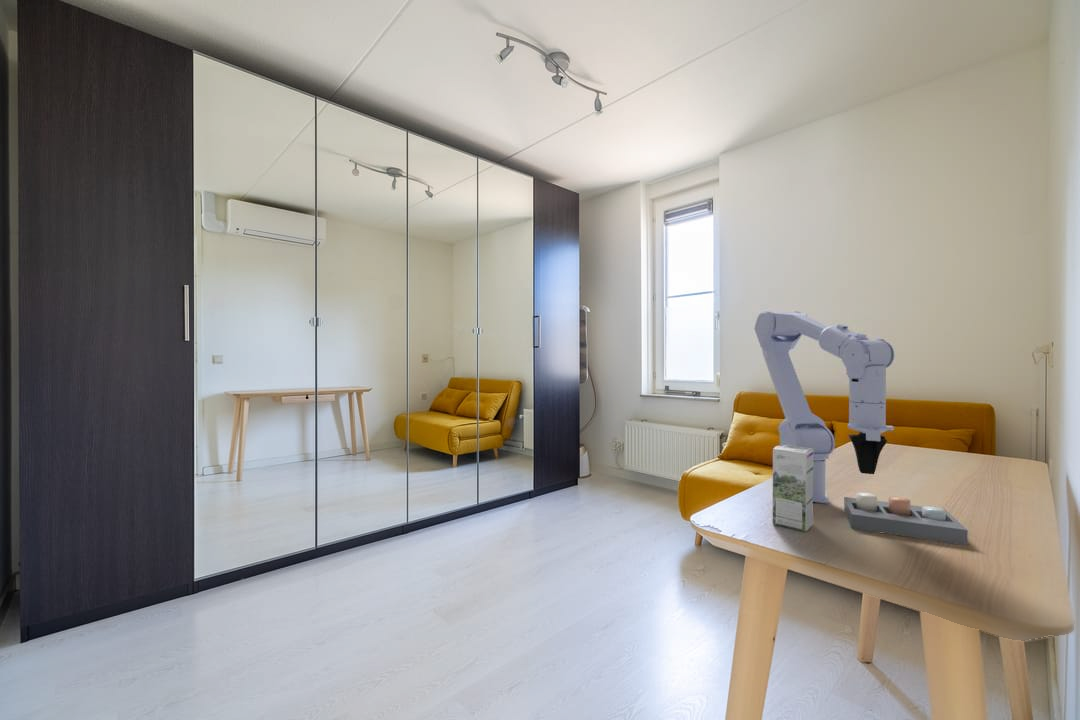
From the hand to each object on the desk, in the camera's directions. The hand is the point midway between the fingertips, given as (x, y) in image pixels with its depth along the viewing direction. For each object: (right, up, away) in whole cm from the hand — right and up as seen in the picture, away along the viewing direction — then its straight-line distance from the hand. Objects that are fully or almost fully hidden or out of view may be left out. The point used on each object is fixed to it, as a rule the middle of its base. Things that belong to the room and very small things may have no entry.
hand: (866, 473), depth 87 cm
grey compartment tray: (+4, -9, -2) cm, 10 cm away
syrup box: (-15, -9, -2) cm, 18 cm away
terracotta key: (+4, -7, -2) cm, 9 cm away
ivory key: (0, -7, 0) cm, 7 cm away
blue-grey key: (+9, -8, -5) cm, 13 cm away
